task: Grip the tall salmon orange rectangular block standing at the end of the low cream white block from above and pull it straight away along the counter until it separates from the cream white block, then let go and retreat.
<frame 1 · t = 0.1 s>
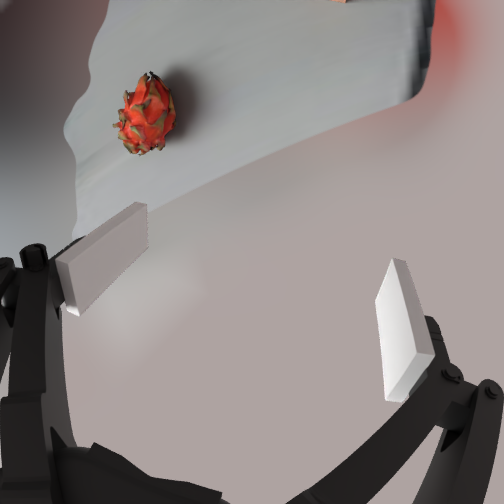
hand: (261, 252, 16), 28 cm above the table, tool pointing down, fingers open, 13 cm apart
dragon fruit: (159, 111, 42), on the table
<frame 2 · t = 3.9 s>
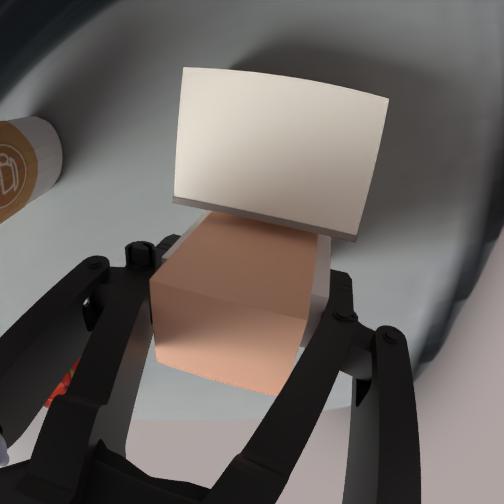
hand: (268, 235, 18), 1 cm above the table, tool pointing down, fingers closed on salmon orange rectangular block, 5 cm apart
coffee cup: (41, 152, 21), on the table
salmon orange rectangular block: (253, 270, 15), point 5 cm above the table, slide at 0.0 cm, touching gripper
dragon fruit: (69, 348, 32), on the table
cream white block: (287, 135, 16), on the table
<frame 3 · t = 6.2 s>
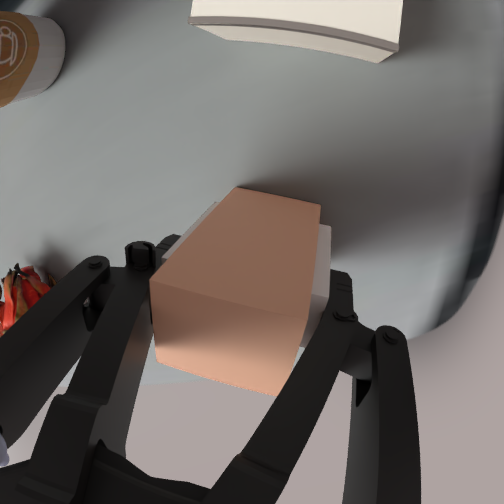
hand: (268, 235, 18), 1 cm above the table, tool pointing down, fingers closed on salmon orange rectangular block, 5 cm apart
coffee cup: (42, 56, 17), on the table
salmon orange rectangular block: (253, 270, 15), point 5 cm above the table, slide at 8.0 cm, touching gripper
dragon fruit: (52, 296, 28), on the table
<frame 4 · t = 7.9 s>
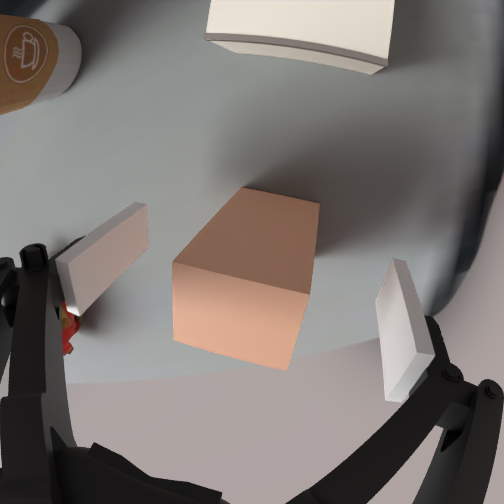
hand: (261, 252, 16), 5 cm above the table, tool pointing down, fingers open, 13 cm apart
coffee cup: (58, 62, 19), on the table
salmon orange rectangular block: (259, 260, 16), point 5 cm above the table, slide at 8.0 cm
dragon fruit: (61, 292, 30), on the table
cream white block: (309, 15, 14), on the table
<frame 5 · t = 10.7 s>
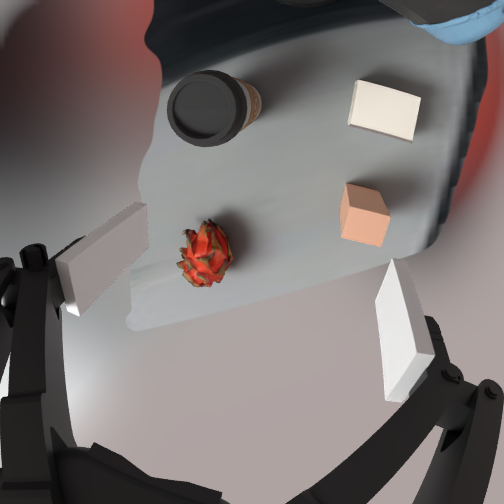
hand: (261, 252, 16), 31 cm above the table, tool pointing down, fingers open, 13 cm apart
coffee cup: (240, 103, 42), on the table
salmon orange rectangular block: (362, 212, 40), point 5 cm above the table, slide at 8.0 cm
dragon fruit: (213, 243, 53), on the table
cream white block: (379, 109, 37), on the table
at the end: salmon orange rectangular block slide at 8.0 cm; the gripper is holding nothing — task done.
